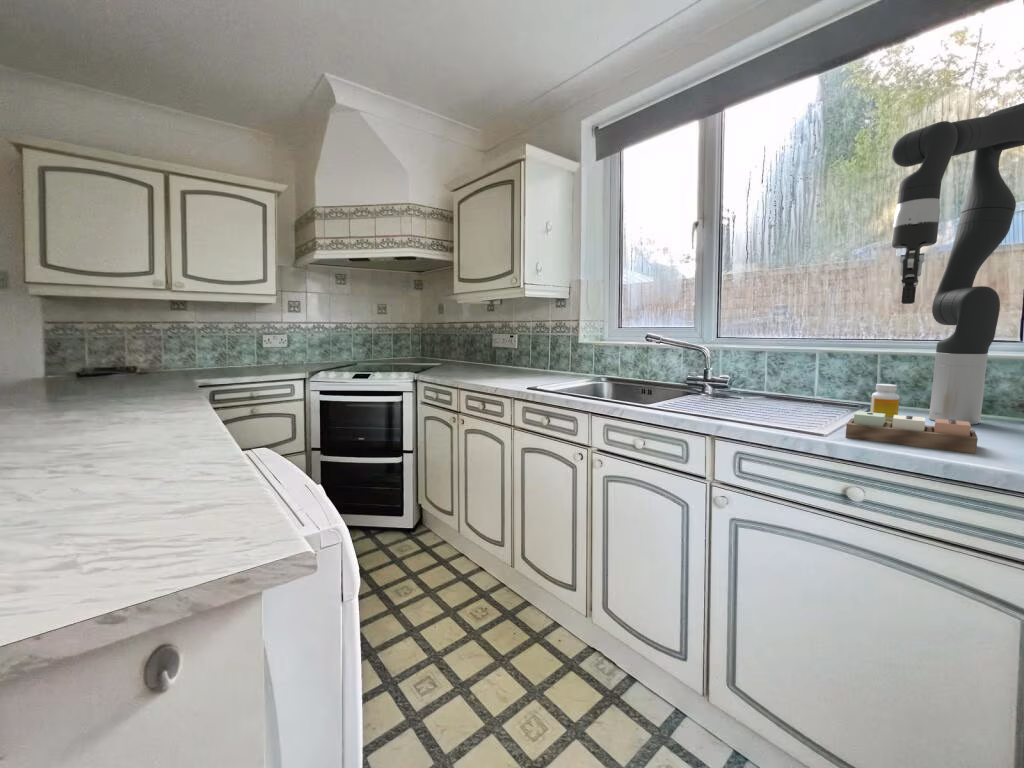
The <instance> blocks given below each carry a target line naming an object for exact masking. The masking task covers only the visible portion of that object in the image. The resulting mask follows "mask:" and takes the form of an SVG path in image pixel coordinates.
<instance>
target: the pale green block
mask: <svg viewBox="0 0 1024 768" xmlns="http://www.w3.org/2000/svg"><path fill="white" fill-rule="evenodd" d="M853 418H854V423H853V424H863V425H872V426H881V427H884V424H885V414H882V413H872V412H870V411H860V410H859V411H858V410H856V412H855V413H854V415H853Z"/></svg>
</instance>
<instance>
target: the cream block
mask: <svg viewBox="0 0 1024 768" xmlns="http://www.w3.org/2000/svg"><path fill="white" fill-rule="evenodd" d="M925 425H926V417H922V416H912V415H899V414H898V415H894V417H893V423H892V428H899V429H908V430H917V431H924V428H925Z"/></svg>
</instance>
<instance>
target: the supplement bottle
mask: <svg viewBox="0 0 1024 768" xmlns="http://www.w3.org/2000/svg"><path fill="white" fill-rule="evenodd" d="M875 390H876V391H875V392H872V394H871V399H870V409H869V412H872V413H882V414H885V421H889V422H893V417H894V415H899V406H900V395H899V394H897V391H898V385H897V384H890V383H876V384H875Z"/></svg>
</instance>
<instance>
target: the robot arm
mask: <svg viewBox="0 0 1024 768" xmlns="http://www.w3.org/2000/svg"><path fill="white" fill-rule="evenodd" d="M1022 146H1023V147H1024V102H1023V103H1018V104H1015V105H1012V106H1009V107H1006V108H1003V109H1000V110H996V111H994V112H991V113H989V114H988V115H986V116H980V117H974V118H968V119H962V120H957V121H952V122H950V121H948V120H947V121H946V120H943V121H942V120H941V121H937V122H935V123H933V124H929V125H926V126H924V127H921V128H918V129H916V130H913V131H910V132H907V133H905V134H904V135H902V136H900V137H899V138H898V139H897V140H896V141H895V142H894V144H893V146H892V148H891V152H890V153H891V154H890V155H891V159H892V161H893V162H894V163H895V164H896V165H898V166H899V167H903V168H909V167H910V168H911V167H913V166H917V165H920V167H919V168H918V169H916V170H915V172H913V173H911V174H909V175H907V176H905V177H903V179H901V180H900V181H899V185H898V191H897V203H896V209H895V213H894V219H893V228H892V229H893V230H892V239H891V247H892V248H894V249H905V252H904V253H905V254H901V255H900V260H899V262H900V272H899V273H900V277H902V279H901V281H900V282H901V287H902V292H901V301H900V302H901V304H903V305H911V304H914V303H915V300H916V293H917V291H916V290H917V287H918V285H919V277H920V276H921V275H922V267H923V263H924V262H925V253H924V252H922V253H921V248H923V247H929V246H933V245H936V243H937V241H938V234H939V224H940V213H941V205H940V204H941V203H940V201H941V200H940V199H941V189H942V181H943V178H944V176H945V172H946V171H947V168H948V165H949V164H950V161H951V158H952V157H954V156H960V155H963V154H968V153H971V152H974V153H973V160H972V165H971V166H972V167H971V173H970V178H969V182H968V186H967V190H966V194H965V199H964V202H963V205H962V208H961V212H960V216H959V220H958V223H957V227H956V232H955V237H954V240H953V244H952V247H951V250H950V254H949V257H948V261H947V264H946V268H945V269H944V272H943V275H942V276H941V281H940V283H939V284H938V288H937V291H936V293H935V295H934V298H933V300H932V306H931V308H932V310H931V312H932V317H933V319H934V320H935V322H936V323H938V324H940V325H943V326H955V329H954V332H953V333H952V334H951V335H950V336H948V337H946V338H944V339H941V340H939V341H938V342H937V343H936V347H935V348H936V349H935V359H934V368H933V370H934V371H933V377H932V378H933V379H932V387H931V397H930V404H929V405H930V406H929V412H928V413H929V414H928V419H929V420H932V421H935V419H945V420H956V421H966V422H970V425H979V424H980V423H981V418H982V411H983V410H982V409H983V403H984V394H985V386H986V385H985V380H986V372H987V365H988V364H987V363H988V357H989V354H988V353H989V349H990V347H991V345H992V344H993V342H994V339H995V336H996V331H997V326H998V321H999V316H1000V310H1001V299H1000V296H999V294H998V292H997V291H996V290H995V289H993V288H992V287H989V286H987V285H986V286H984V285H982V286H973V285H974V282H975V279H976V276H977V274H978V272H979V270H980V268H981V267H982V265H984V263H985V261H986V260H987V259H988V258H989V257H990V256H991V255H992V254H993V253H994V252H995V251H996V249H997V248H998V247H999V246H1000V245H1001V244H1002V243H1003V241H1004V239H1005V238H1006V237H1007V235H1008V234H1009V231H1010V229H1011V225H1012V223H1013V219H1014V215H1015V212H1016V207H1017V201H1016V198H1015V195H1013V193H1012V190H1011V189H1010V187H1009V186H1008V185H1007V184H1006V182H1005V180H1004V179H1003V177H1002V175H1001V173H1000V159H1001V156H1002V152H1004V151H1006V150H1010V149H1015V148H1018V147H1022ZM978 423H979V424H978Z"/></svg>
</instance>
